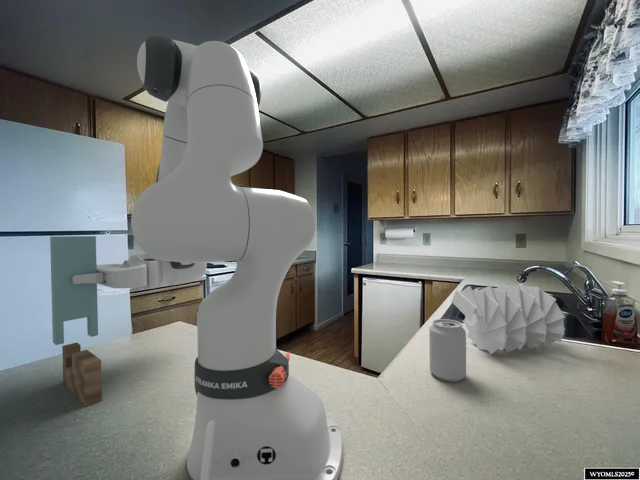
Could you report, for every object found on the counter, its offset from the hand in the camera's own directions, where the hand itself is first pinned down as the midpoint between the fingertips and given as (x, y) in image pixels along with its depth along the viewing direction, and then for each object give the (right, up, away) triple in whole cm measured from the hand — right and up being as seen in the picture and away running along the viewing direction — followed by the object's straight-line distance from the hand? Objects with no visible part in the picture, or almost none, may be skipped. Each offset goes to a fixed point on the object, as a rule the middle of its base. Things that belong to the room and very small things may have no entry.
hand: (69, 279), depth 60 cm
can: (+82, -22, +4) cm, 85 cm away
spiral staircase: (+106, -22, +19) cm, 110 cm away
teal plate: (+1, -13, +1) cm, 13 cm away
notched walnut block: (+3, -23, -1) cm, 23 cm away
